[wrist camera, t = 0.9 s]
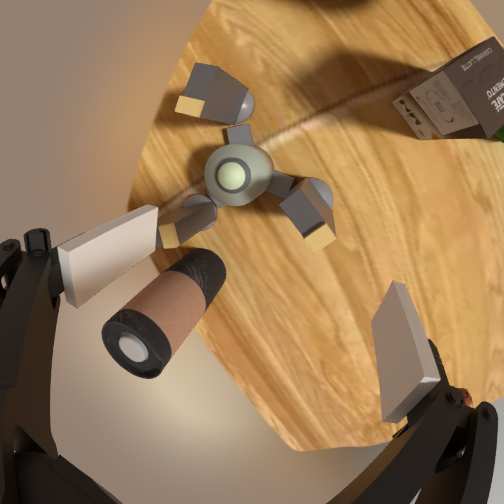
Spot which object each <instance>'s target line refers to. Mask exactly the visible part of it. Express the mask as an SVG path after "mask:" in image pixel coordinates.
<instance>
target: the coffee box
mask: <svg viewBox="0 0 504 504" xmlns="http://www.w3.org/2000/svg"><path fill="white" fill-rule="evenodd" d="M392 104H393V105H394V106H395V108H396V109H397V110H398V111H399V113H400V114H401V115H402V117H403V118H404V119H405V121H406V122H407V123H408V125H409V126H410V127H411V129H412V130H413V131H414V133H415V134H416V135H417V137H418V138H419V139H420V140H436V139H489V138H490V137H491V136H492V135H494V134H495V133H496V132H497V131H498V130H499V129H500V128H501V127H502V126H503V125H504V49H503V48H502V46H501V45H500V44H499V42H498V41H497V40H496V38H495V37H494V36H493V37H490V38H489V39H487V40H485V41H483V42H481V43H479V44H477V45H476V46H474V47H472V48H470V49H469V50H467V51H465V52H464V53H462V54H460V55H459V56H457V57H455V58H454V59H452V60H451V61H449V62H448V63H446V64H445V65H443V66H441V67H440V68H438V69H437V70H435V71H434V72H432V73H431V74H429V75H428V76H427V77H425V78H424V79H422V80H421V81H419V82H418V83H417V84H415V85H414V86H413V87H411V88H410V89H409V90H407V91H406V92H405V93H403V94H402V95H401V96H399V97H398V98H396V99H395V100H394V101H392Z"/></svg>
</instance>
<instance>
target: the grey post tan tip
mask: <svg viewBox="0 0 504 504" xmlns="http://www.w3.org/2000/svg"><path fill="white" fill-rule="evenodd" d="M216 219H217V208H216V205H215V203H214V202H213V200H212V199H211V198H209V197H208V196H206V195H203V194H195V195H193V196H190V197H188V198H187V199H186V200H185V202H184V203H183V206H182V207H181V208H179V209H176V210H174V211H172V212H170V213H168V214H166V215H164V216H162V217H160V218H158V219H157V229H156V243H155V248H161V247H164V249H167V248H177V247H178V246H180V245H181V244H182V243H184V242H185V241H187V240H188V239H189V238H191V237H192V236H194V235H195V234H196V233H198V232H199V231H204V230H207V229H209V228H210V227H211V226H212V225H213V224H214V223H215V221H216Z"/></svg>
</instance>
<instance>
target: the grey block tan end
mask: <svg viewBox="0 0 504 504" xmlns="http://www.w3.org/2000/svg"><path fill="white" fill-rule="evenodd" d="M332 205H333V194H332V191H331V189H330V187H329V186H328V185H327V184H326V183H325V182H324V181H322V180H320V179H317V178H308V177H306V178H305V179H304V180H302V181H300V182H299V183H298V184H297V185H296V186H294V187H293V188H292V189H291V190H290V191H289V193H288V194H287V195H286V196H285V198H284V199H283V200H282V201H281V203H280V204H279V206H280V207H281V208H282V210H283V211H284V212H285V214H286V215H287V216H288V217H289V219H290V220H291V221H292V223H293V224H294V225H295V227H296V228H297V229H298V230H299V232H300V233H301V234H302V236H303V237H304V238H303V240H304V241H305V242H306V244H307V245H308V246H309V248H310V249H311V250H312V252H313V253H316V252H317V251H319V250H320V249H322V248H323V247H325V246H326V245H328V244H329V243H331V242H333V241H334V240H335V239H336V232H335V225H334V218H333V211H332V209H331V208H332Z"/></svg>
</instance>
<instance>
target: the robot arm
mask: <svg viewBox="0 0 504 504" xmlns="http://www.w3.org/2000/svg"><path fill="white" fill-rule="evenodd" d="M157 216H158V207H155V206H152V205H149V204H147V205H144V206H142V207H140V208H137V209H135V210H133V211H130V212H128V213H126V214H124V215H122V216H119V217H117V218H115V219H113V220H110V221H108V222H106V223H104V224H102V225H100V226H97V227H95V228H93V229H91V230H89V231H87V232H84V233H82V234H80V235H78V236H77V237H74V238H72V239H71V240H68V241H66V242H64V243H62V244H60V245H58V246H57V247H55V248H53V249H51V240H50V232H49V231H48V230H47V229H44V228H38V229H33V230H30V231H28V232H26V233H25V234H24V242H25V248H26V252H25V251H21V245H20V241H19V240H16V239H8V240H6V241H4V242H2V243H1V244H0V504H122V503H121V502H120V501H119V500H118V499H117V498H116V497H114V496H113V495H112V494H111V493H110V492H108V491H107V490H106V489H104V488H103V487H102V486H100V485H99V484H98V483H96V482H95V481H94V480H93V479H91V478H90V477H89V476H87V475H86V474H84V473H83V472H82V471H80V470H79V469H78V468H76V467H75V466H74V465H72V464H71V463H70V462H69V461H67V460H66V459H65V458H64V457H62V456H61V455H59V456H58V452H57V448H56V444H55V442H54V439H53V437H52V434H51V429H50V428H51V427H50V383H51V367H52V366H51V365H52V356H53V345H54V338H55V331H56V324H57V318H58V312H59V307H60V295H59V294H61V293H62V292H63V291H65V296H66V301H67V302H68V303H70V304H71V305H73V306H74V307H76V308H79V307H80V306H81V305H83V304H84V303H85V302H87V301H88V300H89V299H90V298H92V297H93V296H94V295H96V294H97V293H98V292H99V291H100V290H102V289H103V288H105V287H106V286H107V285H108V284H110V283H111V282H113V281H114V280H115V279H117V278H118V277H119V276H121V275H122V274H123V273H125V272H126V271H128V270H129V269H130V268H132V267H133V266H135V265H136V264H137V263H139V262H140V261H141V260H143V259H144V258H146V257H147V256H149V255H150V254H151V253H153V252H154V251H155V243H156V229H157ZM3 276H4V279H5V282H6V287H5V288H3V287H2V283H1V279H2V277H3ZM371 324H372V331H373V337H374V344H375V351H376V358H377V367H378V375H379V385H380V396H381V410H382V422H390V423H399V422H400V421H401V420H402V419H403V418H404V417H405V416H406V415H407V420H408V423H407V424H406V425H405V426H404V427H402V428H401V429H400V430H399V431H398V432H397V433H395V434H394V435H393V436H392V437H393V440H392V441H391V442H390V443H389V444H388V445H387V447H386V448H385V449H384V450H383V451H382V452H381V453H380V454H379V456H378V457H377V458H376V459H375V460H374V461H373V462H372V463H371V464H370V465H369V466H368V467H367V468H366V469H365V470H364V471H363V472H362V473H361V474H360V475H359V476H358V477H357V478H356V479H355V480H353V481H352V482H351V483H350V484H349V485H348V486H347V487H346V488H345V489H343V491H341V492H340V493H339V494H338V495H336V496H335V497H334V498H333V499H332V500H330V501H329V502H328V503H327V504H410V502H411V501H412V500H413V499H414V497H415V496H416V494H417V493H418V491H419V490H420V489H421V491H420V493H419V495H418V498H417V500H416V502H415V504H487V501H488V497H489V492H490V488H491V483H492V477H493V471H494V464H495V456H496V446H497V432H498V415H497V412H496V409H495V408H494V406H493V405H491V404H490V403H488V402H486V401H484V402H481V403H480V404H479V405H478V406H477V407H476V408H475V409H474V408H472V407H470V406H467V405H465V399H464V397H463V395H462V393H461V392H460V391H459V390H458V389H457V388H455V387H454V386H450V385H449V382H448V379H447V376H446V373H445V370H444V367H443V365H442V361H441V358H439V357H440V355H439V353H438V350H437V348H436V346H435V345H434V344H433V342H432V341H431V340H430V339H427V337H426V334H425V331H424V329H423V326H422V324H421V321H420V319H419V316H418V314H417V311H416V309H415V307H414V304H413V302H412V300H411V297H410V295H409V293H408V290H407V288H406V286H405V284H402V283H399V282H396V281H392V283H391V285H390V287H389V289H388V291H387V293H386V295H385V297H384V299H383V301H382V303H381V304H380V306H379V308H378V310H377V312H376V314H375V316H374V317H373V319H372V321H371ZM14 450H15V451H16V452H15V453H14ZM463 451H464V453H463V455H462V452H463ZM421 487H422V488H421Z"/></svg>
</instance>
